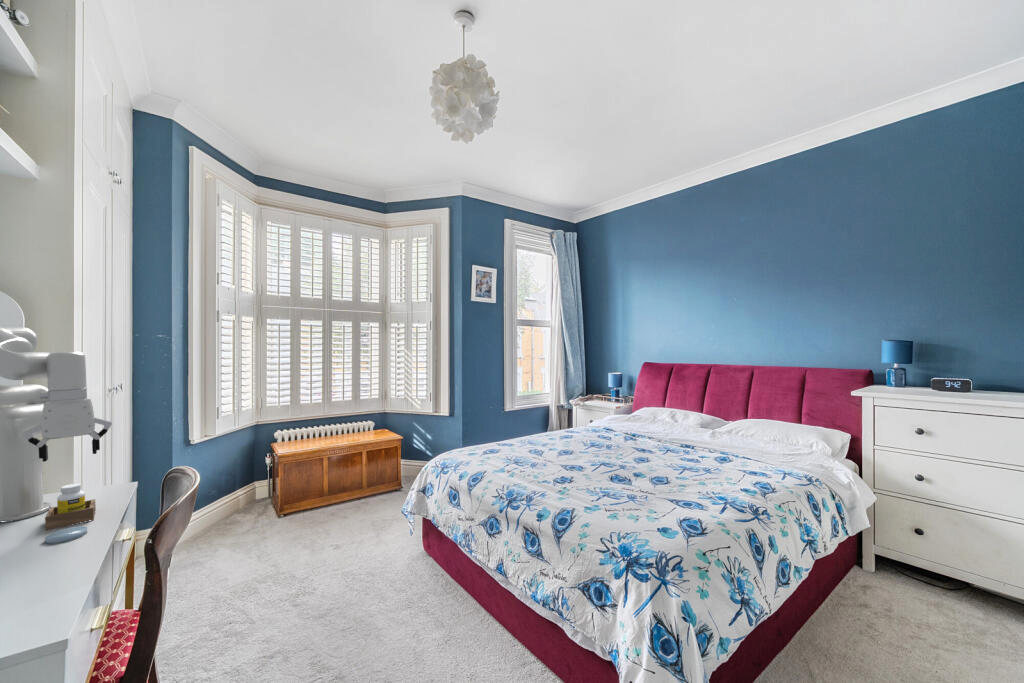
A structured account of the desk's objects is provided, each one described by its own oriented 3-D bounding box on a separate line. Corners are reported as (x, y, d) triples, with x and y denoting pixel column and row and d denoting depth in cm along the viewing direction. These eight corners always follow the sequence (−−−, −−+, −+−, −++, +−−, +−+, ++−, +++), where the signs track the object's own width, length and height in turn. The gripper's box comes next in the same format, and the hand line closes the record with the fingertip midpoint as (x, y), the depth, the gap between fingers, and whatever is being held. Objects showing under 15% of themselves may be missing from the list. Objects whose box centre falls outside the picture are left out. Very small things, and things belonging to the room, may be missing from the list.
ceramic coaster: (35, 545, 104) (35, 541, 104) (61, 532, 112) (61, 528, 112) (72, 541, 106) (72, 537, 106) (94, 528, 113) (94, 525, 113)
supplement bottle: (67, 525, 116) (66, 489, 116) (52, 523, 117) (51, 488, 117) (90, 516, 121) (89, 482, 121) (76, 515, 122) (74, 481, 122)
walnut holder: (50, 520, 120) (50, 507, 120) (95, 510, 126) (95, 499, 126) (45, 530, 113) (45, 517, 113) (93, 520, 119) (93, 507, 119)
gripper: (18, 400, 110) (21, 466, 110) (110, 393, 122) (112, 452, 122) (23, 398, 116) (26, 461, 116) (110, 391, 127) (113, 448, 128)
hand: (70, 456), depth 119 cm, fingers open, 9 cm apart
